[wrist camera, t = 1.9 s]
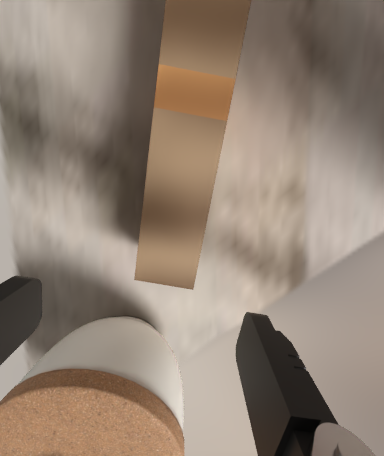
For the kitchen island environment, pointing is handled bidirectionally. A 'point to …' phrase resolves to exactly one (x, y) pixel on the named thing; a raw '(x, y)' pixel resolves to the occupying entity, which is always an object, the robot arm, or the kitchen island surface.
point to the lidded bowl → (98, 396)
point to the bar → (187, 134)
